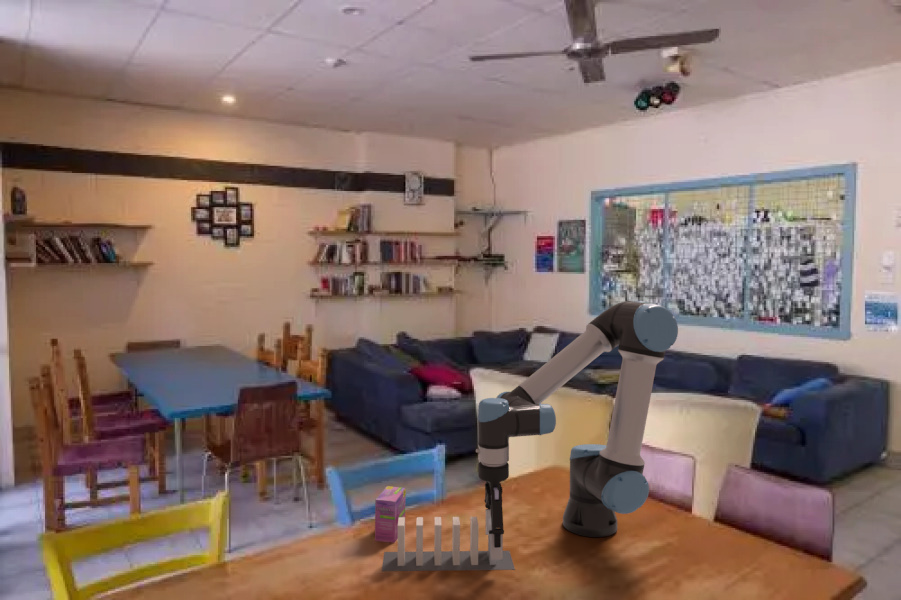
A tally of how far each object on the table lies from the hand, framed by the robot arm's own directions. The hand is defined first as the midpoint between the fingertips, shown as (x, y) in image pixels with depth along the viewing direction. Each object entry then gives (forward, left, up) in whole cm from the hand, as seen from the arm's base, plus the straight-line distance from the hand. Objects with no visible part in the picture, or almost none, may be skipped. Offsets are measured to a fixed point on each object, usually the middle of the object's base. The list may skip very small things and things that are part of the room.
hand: (493, 546), depth 157 cm
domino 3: (+14, 0, -3) cm, 14 cm away
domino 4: (+9, 0, -3) cm, 10 cm away
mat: (+11, 0, -4) cm, 12 cm away
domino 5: (+5, 0, -3) cm, 6 cm away
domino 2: (+18, 0, -3) cm, 19 cm away
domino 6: (0, 0, -3) cm, 4 cm away
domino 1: (+23, 0, -3) cm, 23 cm away
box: (+26, -16, -4) cm, 31 cm away
